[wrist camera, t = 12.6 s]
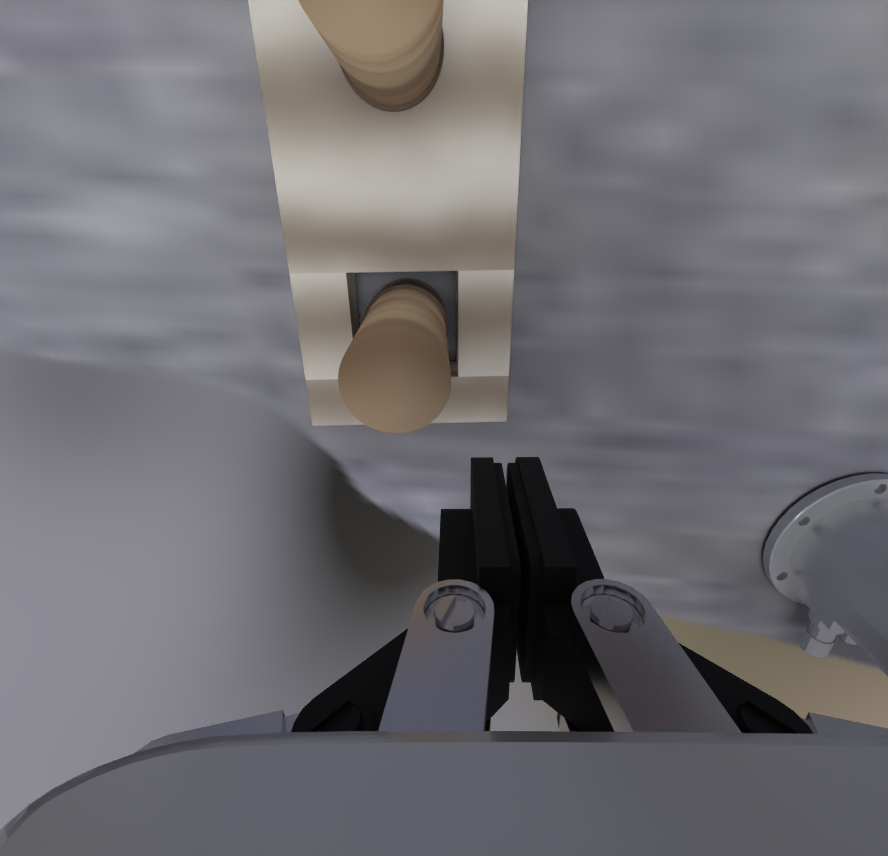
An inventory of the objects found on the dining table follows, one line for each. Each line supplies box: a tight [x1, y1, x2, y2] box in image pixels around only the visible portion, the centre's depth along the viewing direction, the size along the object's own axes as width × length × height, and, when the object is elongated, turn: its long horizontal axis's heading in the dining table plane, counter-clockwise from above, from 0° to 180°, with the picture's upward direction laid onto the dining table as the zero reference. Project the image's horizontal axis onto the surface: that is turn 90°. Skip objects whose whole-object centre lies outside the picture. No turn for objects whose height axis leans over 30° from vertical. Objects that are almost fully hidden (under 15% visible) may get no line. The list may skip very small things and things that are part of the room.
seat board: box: [248, 0, 528, 426], centre depth 21 cm, size 24×12×12 cm, turn 1°
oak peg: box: [338, 278, 451, 434], centre depth 24 cm, size 5×5×12 cm
